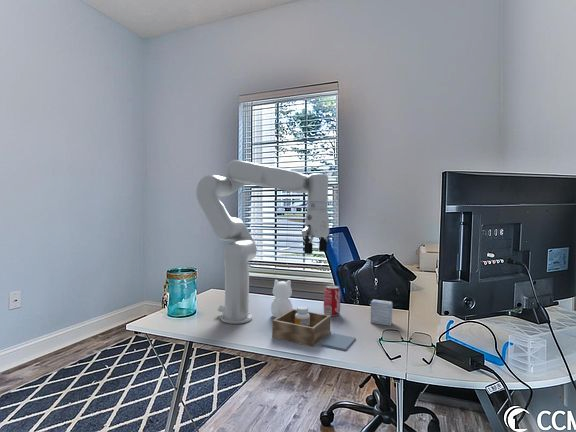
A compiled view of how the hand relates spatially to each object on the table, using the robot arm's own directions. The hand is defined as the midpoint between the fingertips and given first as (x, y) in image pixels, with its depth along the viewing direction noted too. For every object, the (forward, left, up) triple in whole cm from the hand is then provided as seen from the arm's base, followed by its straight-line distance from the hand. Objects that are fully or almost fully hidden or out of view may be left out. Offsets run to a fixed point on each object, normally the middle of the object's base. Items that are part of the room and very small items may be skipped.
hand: (315, 252), depth 127 cm
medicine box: (+21, +19, -29) cm, 41 cm away
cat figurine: (-17, +5, -29) cm, 34 cm away
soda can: (0, +19, -29) cm, 35 cm away
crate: (-1, -8, -29) cm, 30 cm away
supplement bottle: (-1, -8, -29) cm, 30 cm away
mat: (+13, -8, -29) cm, 33 cm away
